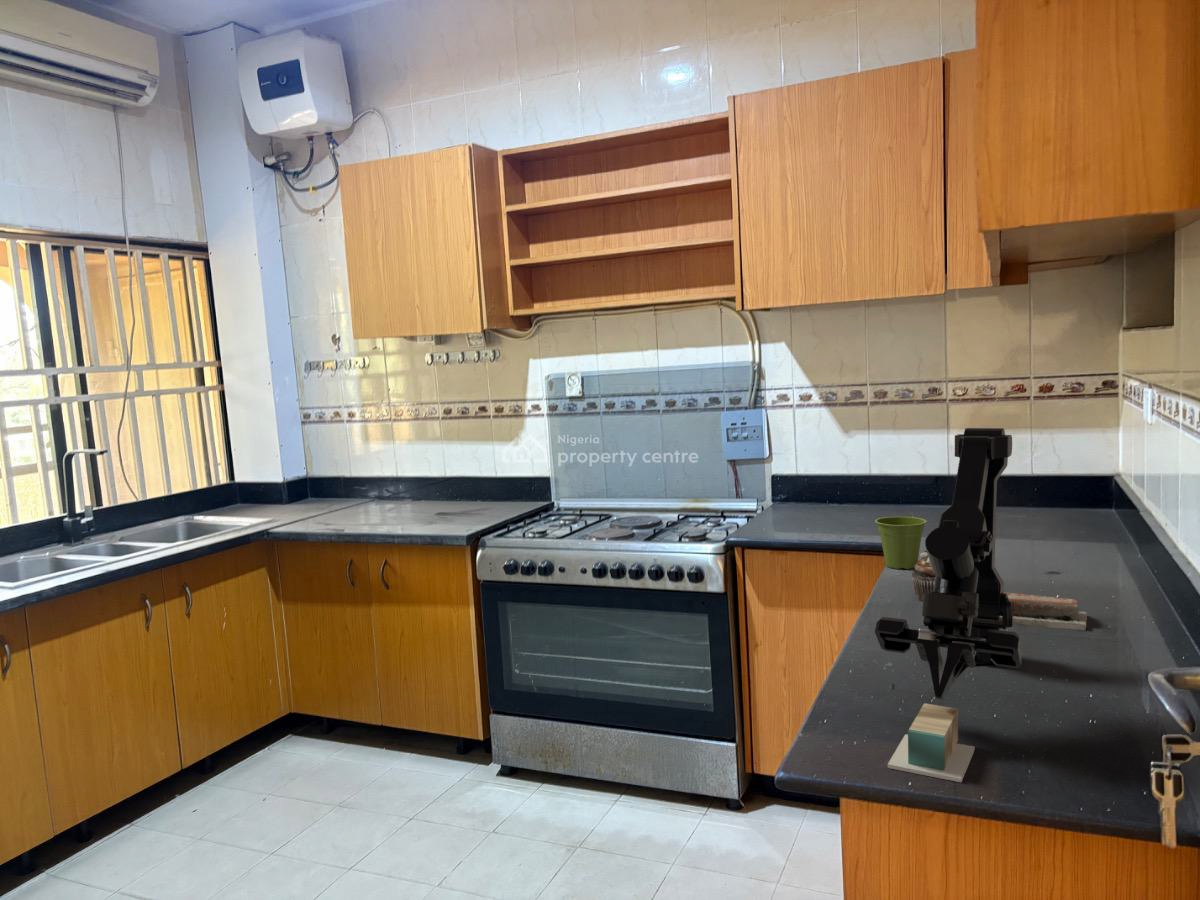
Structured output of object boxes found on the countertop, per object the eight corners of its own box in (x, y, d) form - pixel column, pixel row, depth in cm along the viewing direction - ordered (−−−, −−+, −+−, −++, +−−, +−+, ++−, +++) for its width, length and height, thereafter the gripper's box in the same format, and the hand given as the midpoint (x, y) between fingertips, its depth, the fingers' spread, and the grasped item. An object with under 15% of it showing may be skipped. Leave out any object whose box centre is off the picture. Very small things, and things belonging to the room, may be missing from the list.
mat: (905, 737, 125) (905, 734, 125) (974, 750, 120) (974, 746, 120) (887, 767, 116) (887, 764, 116) (961, 782, 112) (961, 778, 112)
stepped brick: (980, 598, 173) (986, 585, 182) (980, 623, 174) (986, 609, 182) (1086, 607, 164) (1087, 593, 173) (1086, 633, 165) (1087, 618, 173)
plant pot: (933, 563, 218) (932, 517, 217) (918, 574, 209) (918, 526, 208) (884, 558, 225) (884, 514, 224) (868, 569, 216) (867, 523, 215)
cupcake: (903, 594, 194) (903, 548, 193) (946, 590, 195) (946, 545, 193) (923, 606, 184) (923, 559, 183) (969, 603, 185) (968, 555, 184)
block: (924, 703, 124) (907, 731, 116) (957, 708, 122) (943, 737, 113) (924, 733, 125) (908, 763, 116) (958, 739, 122) (943, 770, 114)
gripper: (877, 562, 129) (857, 660, 121) (1020, 574, 119) (1008, 682, 111) (891, 601, 136) (873, 696, 128) (1026, 615, 127) (1016, 719, 118)
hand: (938, 698), depth 121 cm, fingers closed
